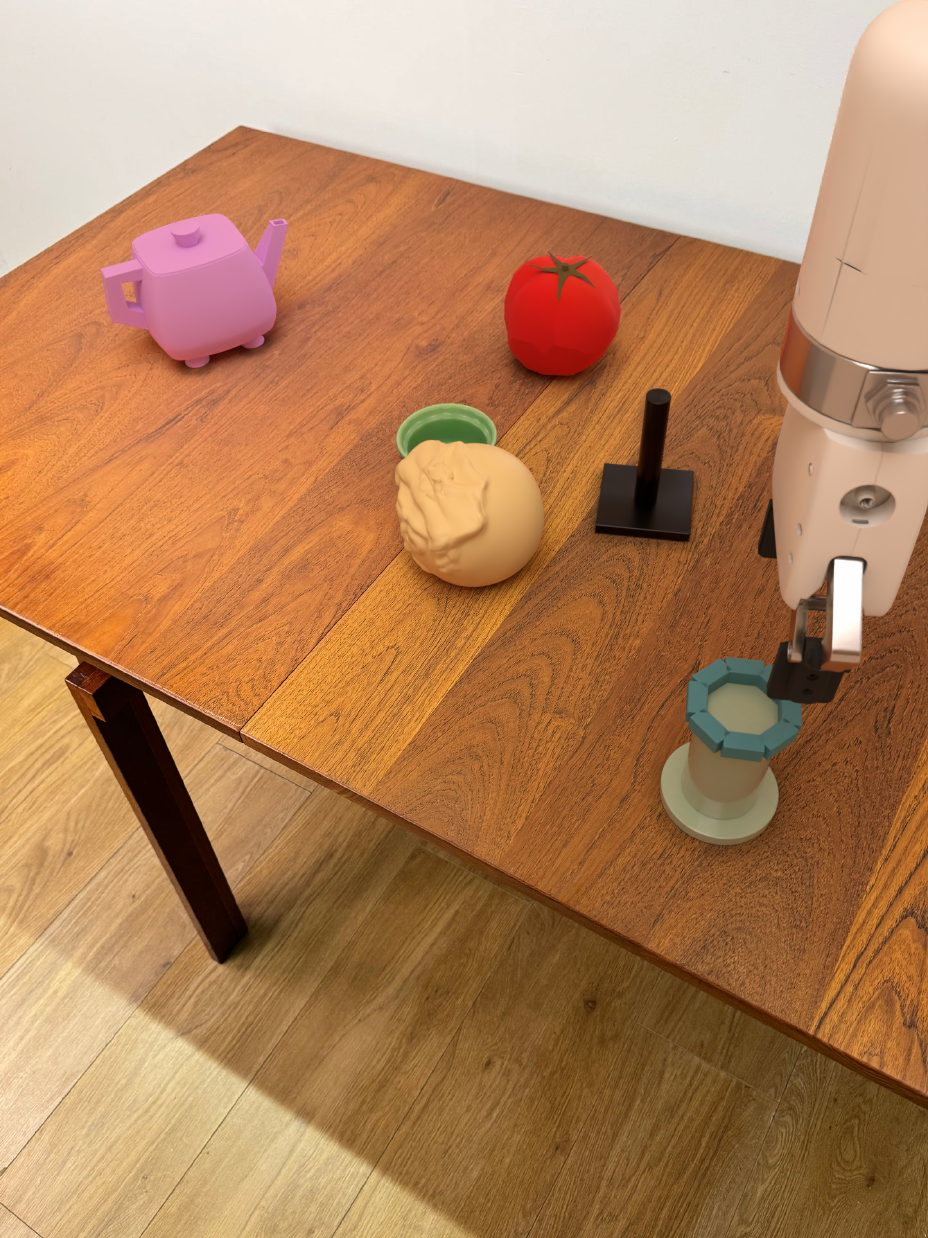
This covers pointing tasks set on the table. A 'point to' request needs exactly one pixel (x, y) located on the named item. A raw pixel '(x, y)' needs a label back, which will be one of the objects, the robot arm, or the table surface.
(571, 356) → the tomato
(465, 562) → the sculpture
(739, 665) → the ring
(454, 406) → the ramekin
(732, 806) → the ring stand
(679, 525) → the black peg stand
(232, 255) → the teapot
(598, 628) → the table surface
